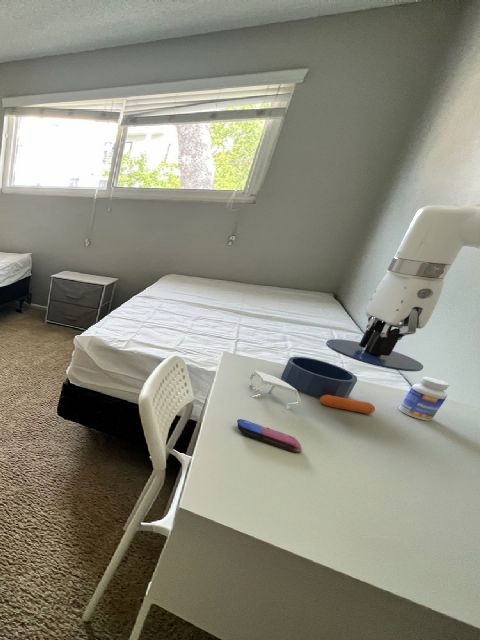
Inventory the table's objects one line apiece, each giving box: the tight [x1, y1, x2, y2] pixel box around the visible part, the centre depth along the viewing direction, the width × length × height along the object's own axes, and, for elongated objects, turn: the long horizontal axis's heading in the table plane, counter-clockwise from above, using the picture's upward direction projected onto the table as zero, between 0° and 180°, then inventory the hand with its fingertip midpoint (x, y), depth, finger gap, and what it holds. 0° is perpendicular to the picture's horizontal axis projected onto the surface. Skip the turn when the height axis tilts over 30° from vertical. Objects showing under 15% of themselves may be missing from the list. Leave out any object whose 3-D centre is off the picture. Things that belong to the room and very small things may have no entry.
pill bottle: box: [398, 376, 450, 421], centre depth 85 cm, size 5×5×10 cm
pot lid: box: [325, 330, 424, 372], centre depth 76 cm, size 15×15×6 cm
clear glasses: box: [249, 369, 302, 410], centre depth 89 cm, size 12×8×5 cm
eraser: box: [236, 418, 303, 453], centre depth 73 cm, size 11×4×2 cm, turn 56°
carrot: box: [319, 395, 376, 415], centre depth 87 cm, size 3×3×10 cm
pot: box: [280, 356, 358, 399], centre depth 95 cm, size 14×14×6 cm
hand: (373, 350), depth 77 cm, fingers closed on pot lid, 2 cm apart
